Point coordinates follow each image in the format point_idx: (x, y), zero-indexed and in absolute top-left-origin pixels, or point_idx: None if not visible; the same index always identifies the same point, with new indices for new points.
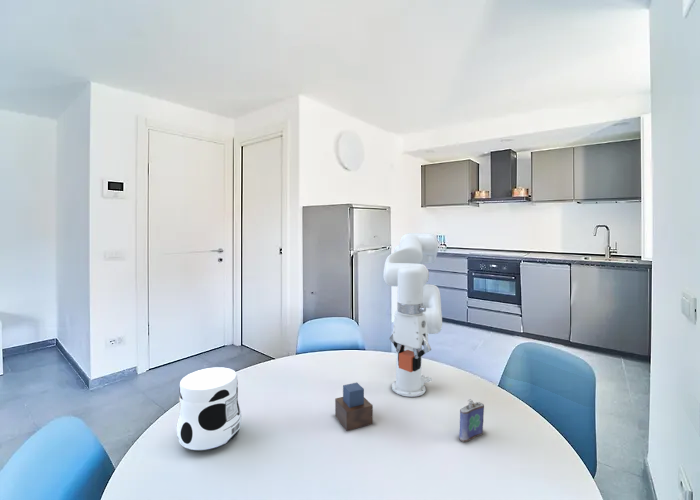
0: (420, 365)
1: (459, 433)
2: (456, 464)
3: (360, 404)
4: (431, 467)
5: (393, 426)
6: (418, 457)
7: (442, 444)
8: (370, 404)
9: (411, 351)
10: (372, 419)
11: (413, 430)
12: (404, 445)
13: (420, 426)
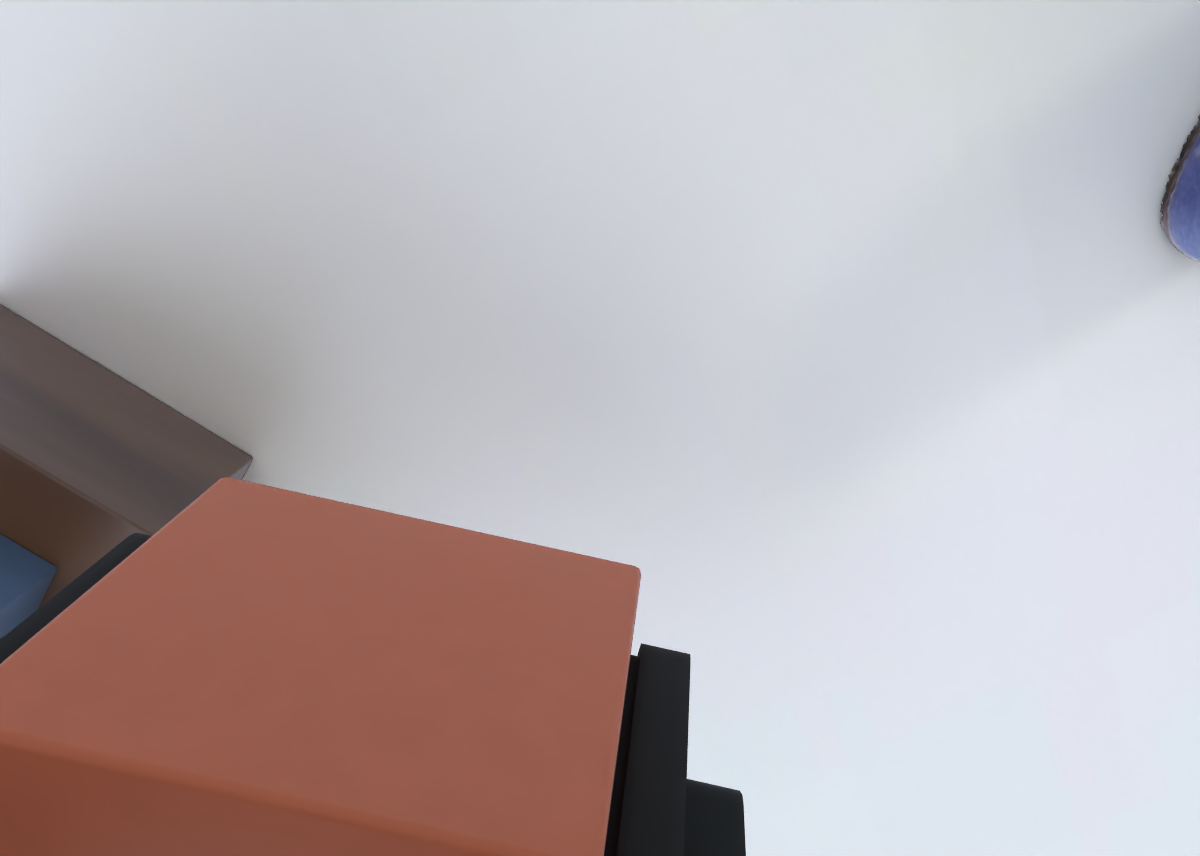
0: (737, 824)
1: (1189, 240)
2: (1181, 615)
3: (35, 606)
4: (982, 745)
5: (447, 383)
6: (844, 687)
7: (1001, 407)
8: (119, 532)
9: (190, 836)
10: (231, 476)
11: (656, 338)
12: (674, 602)
13: (695, 224)
